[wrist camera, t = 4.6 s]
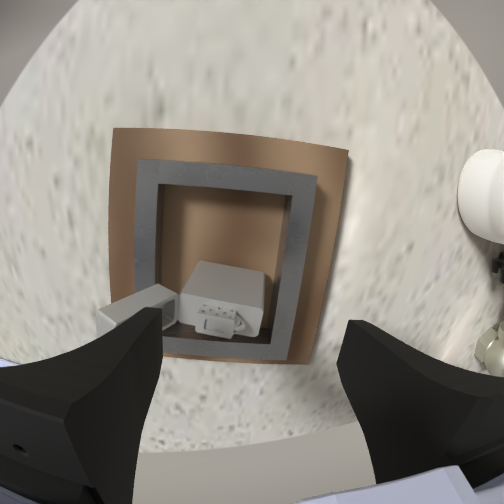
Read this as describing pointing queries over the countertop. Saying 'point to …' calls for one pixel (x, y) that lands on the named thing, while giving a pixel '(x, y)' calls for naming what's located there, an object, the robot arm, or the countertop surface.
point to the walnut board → (226, 218)
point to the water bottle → (483, 194)
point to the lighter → (199, 302)
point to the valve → (493, 335)
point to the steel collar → (288, 259)
